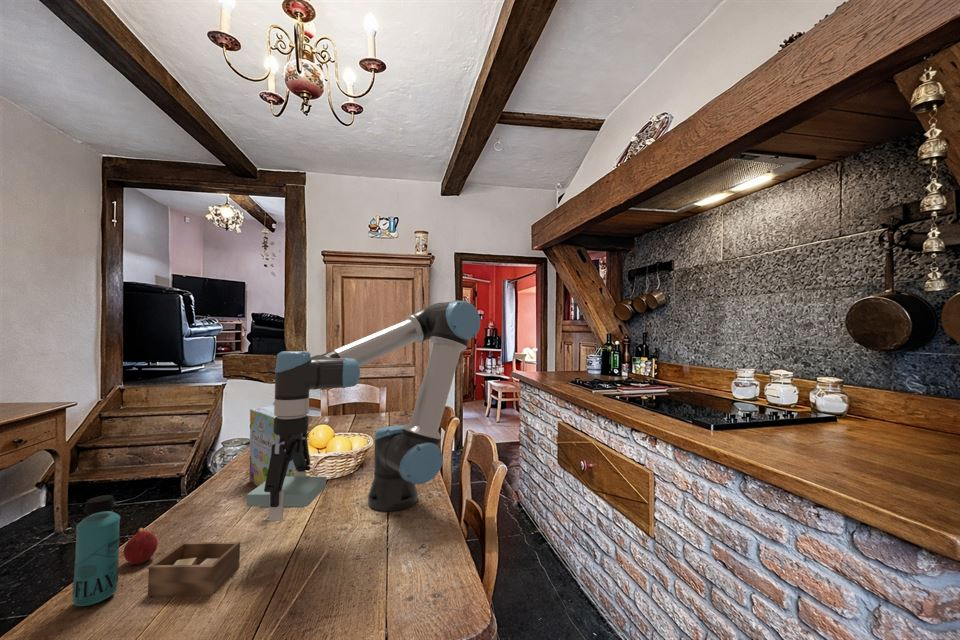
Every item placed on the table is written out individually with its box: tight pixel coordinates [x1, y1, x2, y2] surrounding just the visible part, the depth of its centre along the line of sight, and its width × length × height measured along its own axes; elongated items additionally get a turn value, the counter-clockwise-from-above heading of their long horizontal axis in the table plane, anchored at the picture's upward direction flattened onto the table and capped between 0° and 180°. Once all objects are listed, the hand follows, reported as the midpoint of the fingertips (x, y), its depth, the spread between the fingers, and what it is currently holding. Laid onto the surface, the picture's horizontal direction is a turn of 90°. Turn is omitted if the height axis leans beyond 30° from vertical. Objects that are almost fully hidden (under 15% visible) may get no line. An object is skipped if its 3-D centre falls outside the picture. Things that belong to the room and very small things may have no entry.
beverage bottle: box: [71, 494, 121, 607], centre depth 77 cm, size 6×7×20 cm
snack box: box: [249, 405, 298, 487], centre depth 137 cm, size 22×9×26 cm, turn 49°
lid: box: [246, 476, 327, 509], centre depth 95 cm, size 13×12×4 cm
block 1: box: [174, 558, 197, 565], centre depth 83 cm, size 4×4×4 cm
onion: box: [123, 527, 158, 565], centre depth 90 cm, size 6×6×8 cm
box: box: [147, 541, 241, 597], centre depth 84 cm, size 12×9×6 cm
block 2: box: [200, 558, 219, 565], centre depth 84 cm, size 4×4×4 cm
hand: (288, 508), depth 95 cm, fingers closed on lid, 11 cm apart
